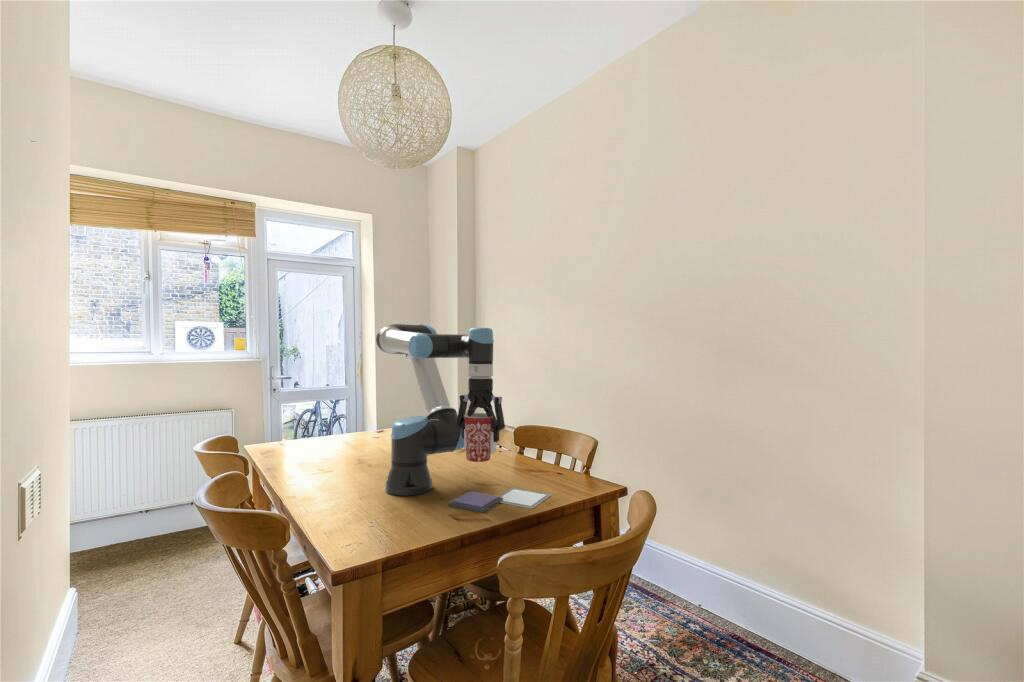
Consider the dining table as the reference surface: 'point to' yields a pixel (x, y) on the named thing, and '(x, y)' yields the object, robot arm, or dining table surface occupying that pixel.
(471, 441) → the mug
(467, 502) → the ink pad
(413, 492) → the robot arm
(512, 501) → the print card
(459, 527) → the dining table surface
